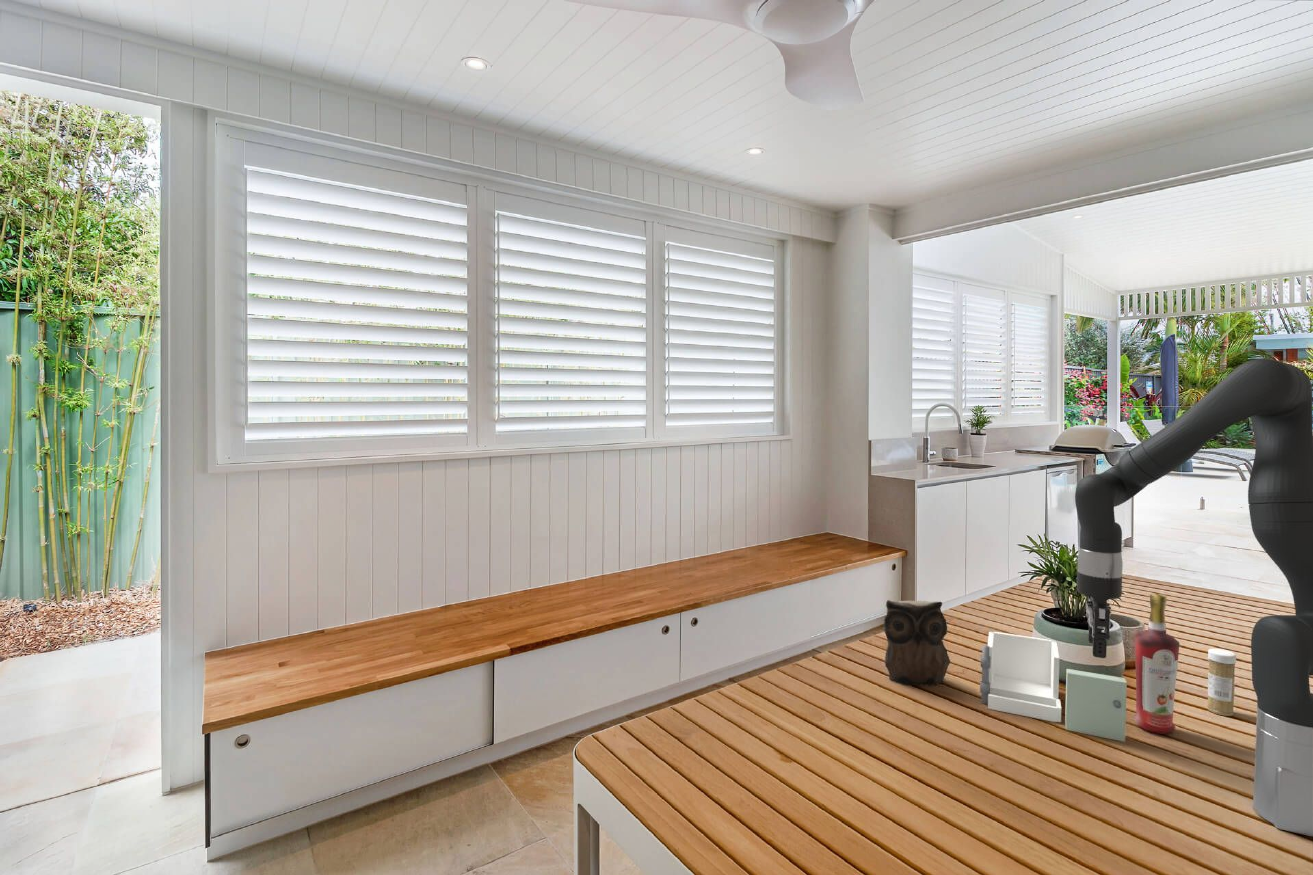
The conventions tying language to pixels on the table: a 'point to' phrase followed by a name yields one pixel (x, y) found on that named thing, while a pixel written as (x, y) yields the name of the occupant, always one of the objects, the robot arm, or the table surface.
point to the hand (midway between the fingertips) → (1096, 649)
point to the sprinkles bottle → (1221, 682)
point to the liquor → (1156, 671)
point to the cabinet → (1021, 676)
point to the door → (1095, 704)
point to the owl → (915, 642)
